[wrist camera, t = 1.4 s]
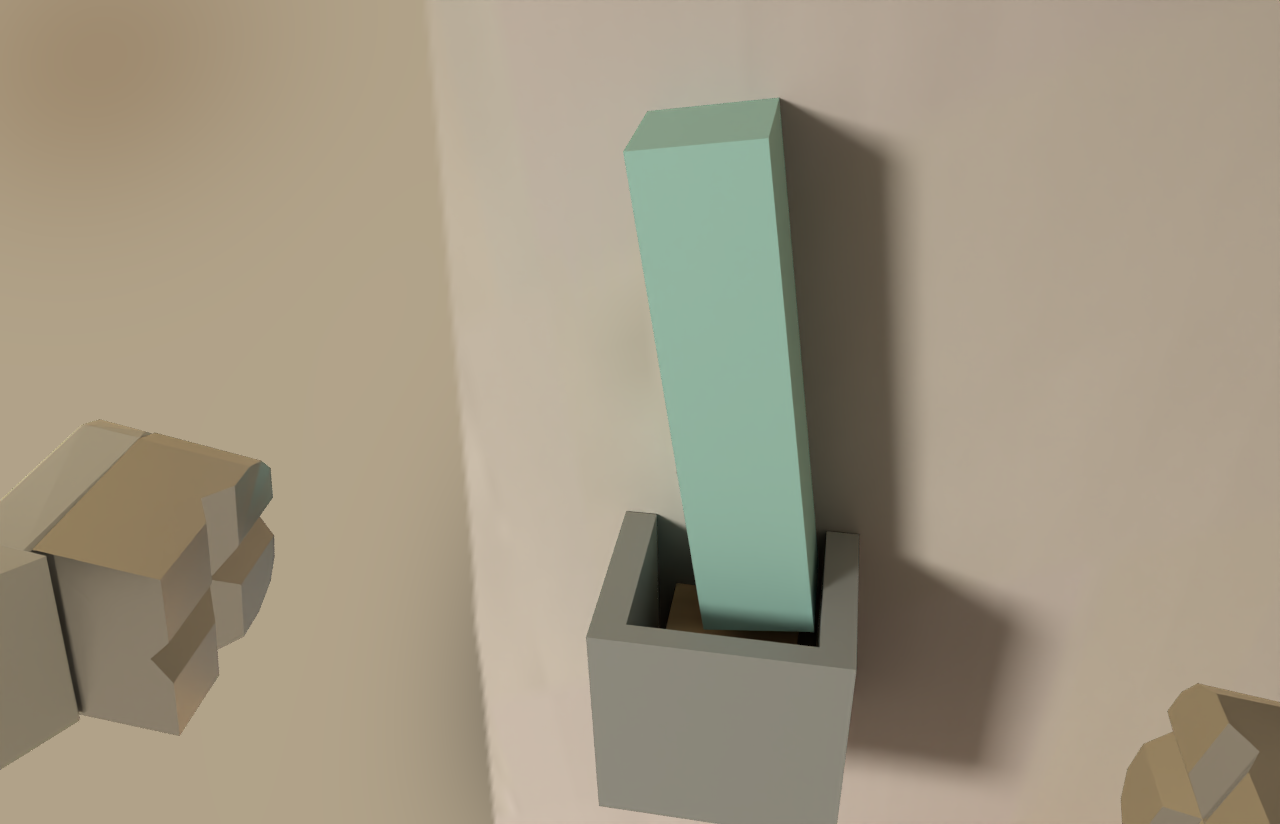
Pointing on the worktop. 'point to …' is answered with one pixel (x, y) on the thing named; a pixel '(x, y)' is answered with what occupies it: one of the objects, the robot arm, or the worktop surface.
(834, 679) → the tunnel
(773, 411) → the bar
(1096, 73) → the worktop surface
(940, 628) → the worktop surface
